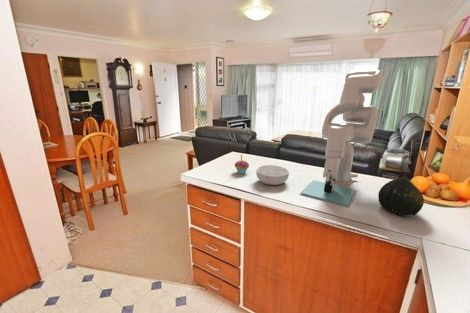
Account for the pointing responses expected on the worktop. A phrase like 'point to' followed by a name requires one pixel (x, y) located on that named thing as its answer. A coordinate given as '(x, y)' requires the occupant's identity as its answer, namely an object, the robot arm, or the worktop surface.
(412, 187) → the squash
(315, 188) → the lid
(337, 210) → the worktop surface
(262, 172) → the cereal bowl
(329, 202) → the mat
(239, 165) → the cupcake
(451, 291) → the worktop surface
